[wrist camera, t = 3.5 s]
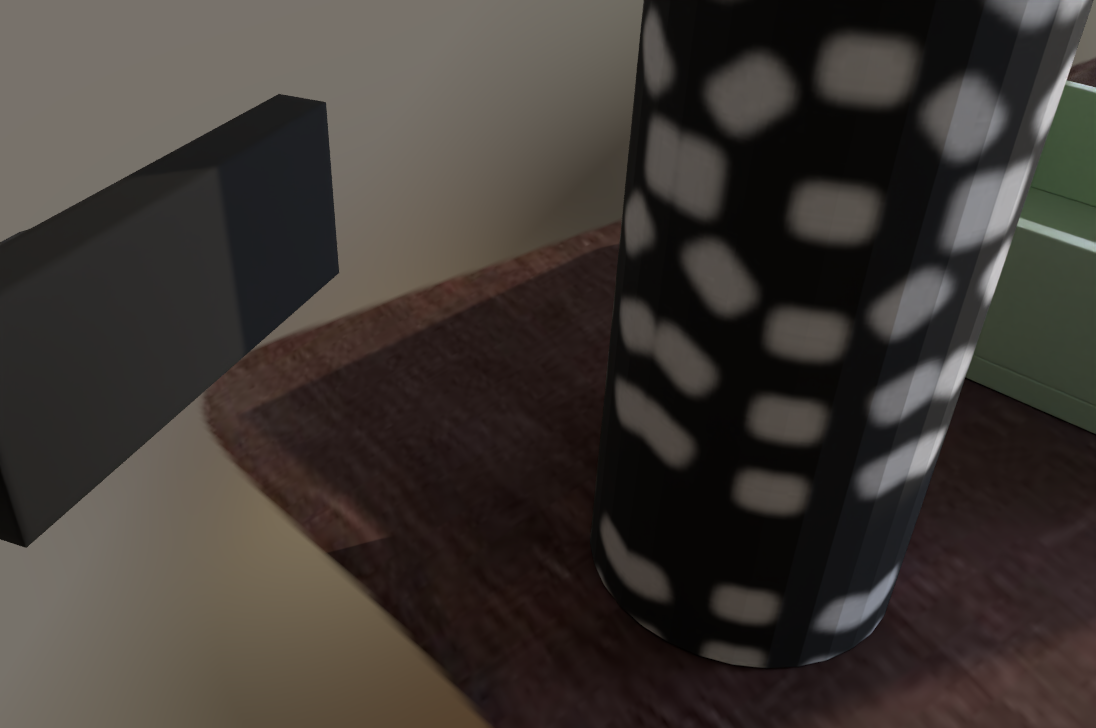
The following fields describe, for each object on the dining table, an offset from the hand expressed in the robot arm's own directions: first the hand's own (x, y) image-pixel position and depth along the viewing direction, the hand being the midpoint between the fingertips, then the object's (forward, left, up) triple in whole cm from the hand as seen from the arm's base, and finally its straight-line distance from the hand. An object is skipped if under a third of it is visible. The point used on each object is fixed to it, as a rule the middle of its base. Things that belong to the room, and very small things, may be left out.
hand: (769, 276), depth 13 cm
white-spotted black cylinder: (-4, +9, -14) cm, 16 cm away
